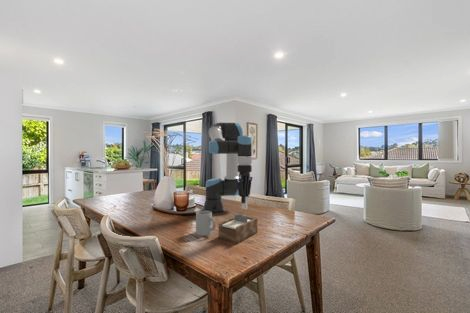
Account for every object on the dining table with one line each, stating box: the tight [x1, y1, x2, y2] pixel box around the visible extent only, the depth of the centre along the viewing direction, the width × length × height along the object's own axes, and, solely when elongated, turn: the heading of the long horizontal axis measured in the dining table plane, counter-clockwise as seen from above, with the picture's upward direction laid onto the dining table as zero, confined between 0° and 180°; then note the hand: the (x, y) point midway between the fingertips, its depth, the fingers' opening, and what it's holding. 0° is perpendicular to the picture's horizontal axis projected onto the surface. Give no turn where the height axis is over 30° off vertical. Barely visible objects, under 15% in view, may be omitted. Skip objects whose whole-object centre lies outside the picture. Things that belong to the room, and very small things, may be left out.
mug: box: [195, 210, 216, 237], centre depth 120 cm, size 12×8×11 cm
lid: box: [222, 213, 250, 229], centre depth 117 cm, size 16×9×4 cm, turn 145°
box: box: [218, 216, 258, 244], centre depth 118 cm, size 18×12×8 cm, turn 145°
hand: (244, 208), depth 122 cm, fingers closed
